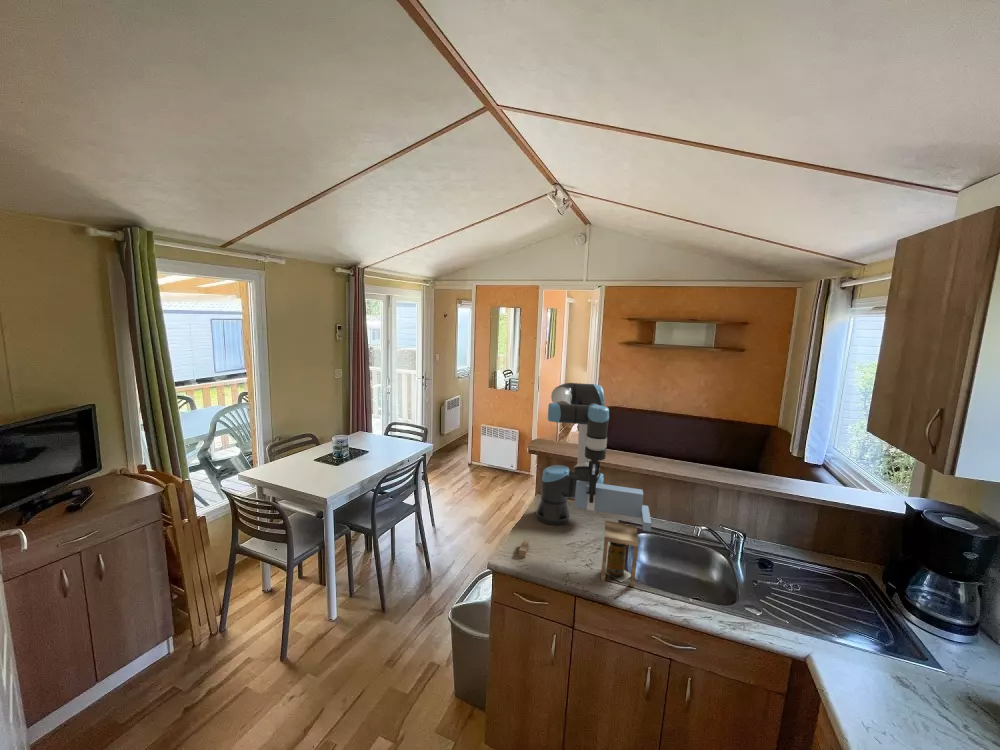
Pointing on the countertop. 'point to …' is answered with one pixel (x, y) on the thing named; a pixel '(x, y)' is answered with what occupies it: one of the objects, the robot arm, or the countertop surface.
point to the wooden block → (524, 548)
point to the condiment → (617, 562)
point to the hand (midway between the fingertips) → (590, 506)
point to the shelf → (622, 536)
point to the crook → (615, 501)
